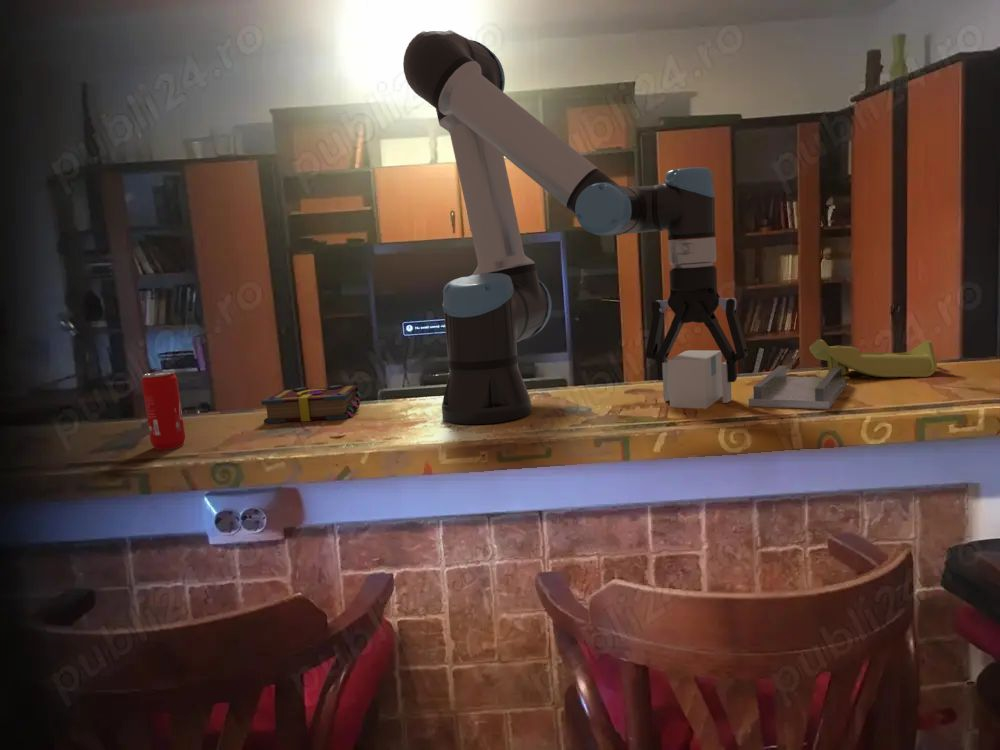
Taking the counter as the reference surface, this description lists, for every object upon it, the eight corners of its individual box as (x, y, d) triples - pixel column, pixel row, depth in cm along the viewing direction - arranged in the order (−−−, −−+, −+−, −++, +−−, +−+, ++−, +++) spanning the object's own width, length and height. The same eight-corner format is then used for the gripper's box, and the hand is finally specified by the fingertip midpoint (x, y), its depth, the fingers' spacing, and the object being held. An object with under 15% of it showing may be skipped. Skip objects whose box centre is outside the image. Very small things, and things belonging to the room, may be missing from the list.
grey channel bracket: (748, 406, 126) (748, 386, 125) (775, 382, 143) (774, 365, 142) (829, 409, 120) (829, 388, 119) (846, 384, 137) (846, 366, 136)
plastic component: (908, 354, 149) (934, 336, 140) (913, 391, 147) (939, 376, 138) (802, 352, 150) (820, 335, 141) (805, 390, 148) (824, 375, 139)
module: (669, 407, 129) (667, 359, 128) (688, 395, 138) (686, 350, 137) (706, 409, 126) (704, 360, 125) (723, 396, 135) (721, 350, 133)
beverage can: (155, 444, 129) (144, 373, 127) (188, 440, 131) (178, 369, 129) (149, 452, 124) (137, 377, 122) (183, 448, 126) (173, 374, 124)
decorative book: (284, 412, 151) (281, 386, 150) (367, 407, 150) (364, 381, 149) (264, 425, 139) (260, 398, 139) (353, 420, 139) (350, 392, 138)
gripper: (620, 270, 131) (627, 402, 134) (756, 263, 120) (759, 407, 123) (637, 267, 137) (642, 393, 141) (767, 260, 126) (769, 397, 130)
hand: (697, 400), depth 132 cm, fingers open, 9 cm apart
